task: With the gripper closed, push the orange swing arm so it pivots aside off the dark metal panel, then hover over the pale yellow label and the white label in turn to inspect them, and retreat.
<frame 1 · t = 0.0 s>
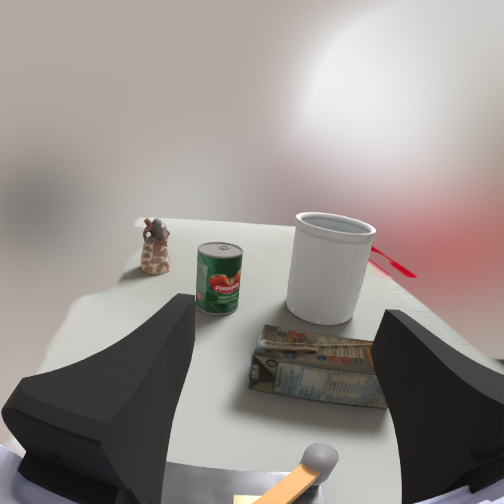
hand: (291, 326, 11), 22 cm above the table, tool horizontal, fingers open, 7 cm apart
canned tomato: (216, 305, 56), on the table
utensil holder: (319, 309, 59), on the table
figurine: (155, 269, 69), on the table
beverage carton: (320, 385, 38), on the table
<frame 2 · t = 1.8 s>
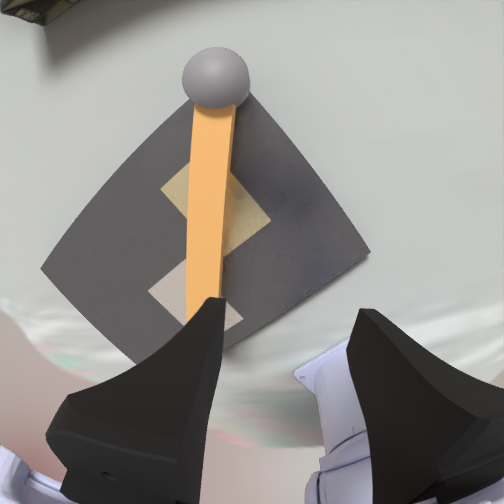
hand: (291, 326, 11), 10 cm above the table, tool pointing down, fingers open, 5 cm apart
panel: (184, 256, 21), on the table
swing arm: (207, 220, 16), point 4 cm above the table, hinge at 0.0°
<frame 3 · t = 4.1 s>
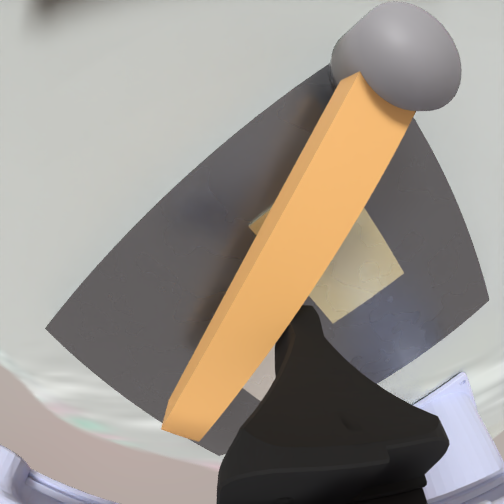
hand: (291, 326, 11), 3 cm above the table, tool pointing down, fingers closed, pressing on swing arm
panel: (269, 317, 15), on the table
swing arm: (276, 272, 9), point 4 cm above the table, hinge at 21.3°, touching gripper
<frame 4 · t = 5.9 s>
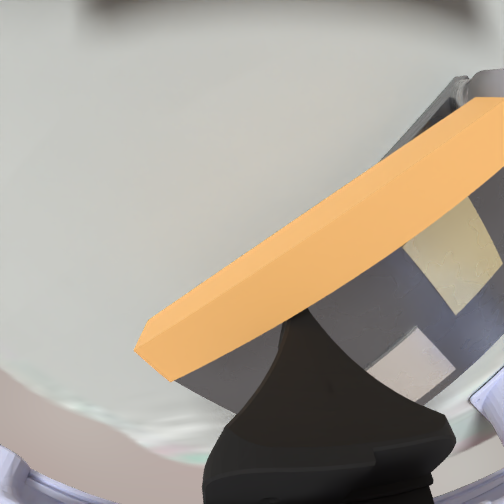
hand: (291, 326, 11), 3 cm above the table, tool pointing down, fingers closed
panel: (402, 321, 15), on the table
swing arm: (375, 212, 8), point 4 cm above the table, hinge at 57.7°, touching gripper
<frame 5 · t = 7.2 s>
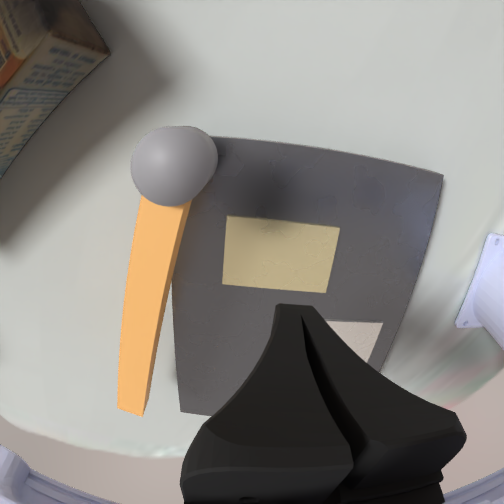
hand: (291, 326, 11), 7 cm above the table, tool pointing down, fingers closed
panel: (291, 314, 20), on the table
swing arm: (145, 305, 15), point 4 cm above the table, hinge at 57.8°
beverage carton: (4, 114, 14), on the table
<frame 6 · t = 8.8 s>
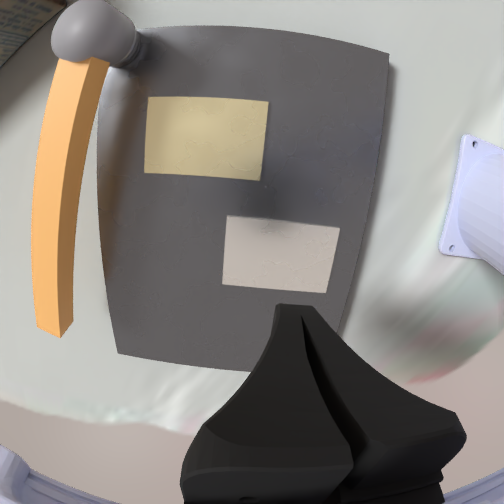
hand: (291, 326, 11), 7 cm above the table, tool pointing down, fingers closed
panel: (228, 218, 17), on the table
swing arm: (57, 183, 12), point 4 cm above the table, hinge at 57.8°
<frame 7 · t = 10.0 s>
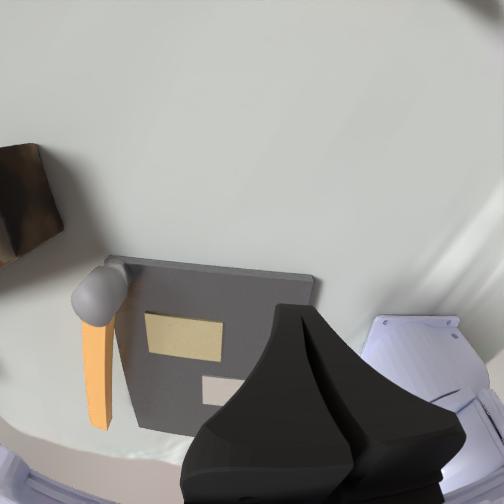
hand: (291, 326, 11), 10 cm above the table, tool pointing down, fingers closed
panel: (204, 370, 26), on the table
swing arm: (98, 367, 21), point 4 cm above the table, hinge at 57.8°
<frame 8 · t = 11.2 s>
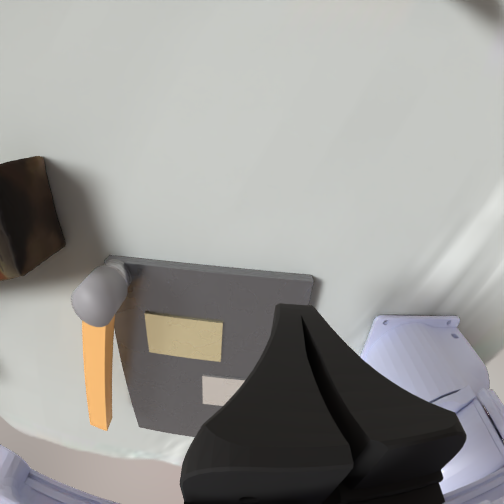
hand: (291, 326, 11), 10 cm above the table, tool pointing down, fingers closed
panel: (204, 370, 26), on the table
swing arm: (98, 367, 21), point 4 cm above the table, hinge at 57.8°
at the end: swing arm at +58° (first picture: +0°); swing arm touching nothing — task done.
